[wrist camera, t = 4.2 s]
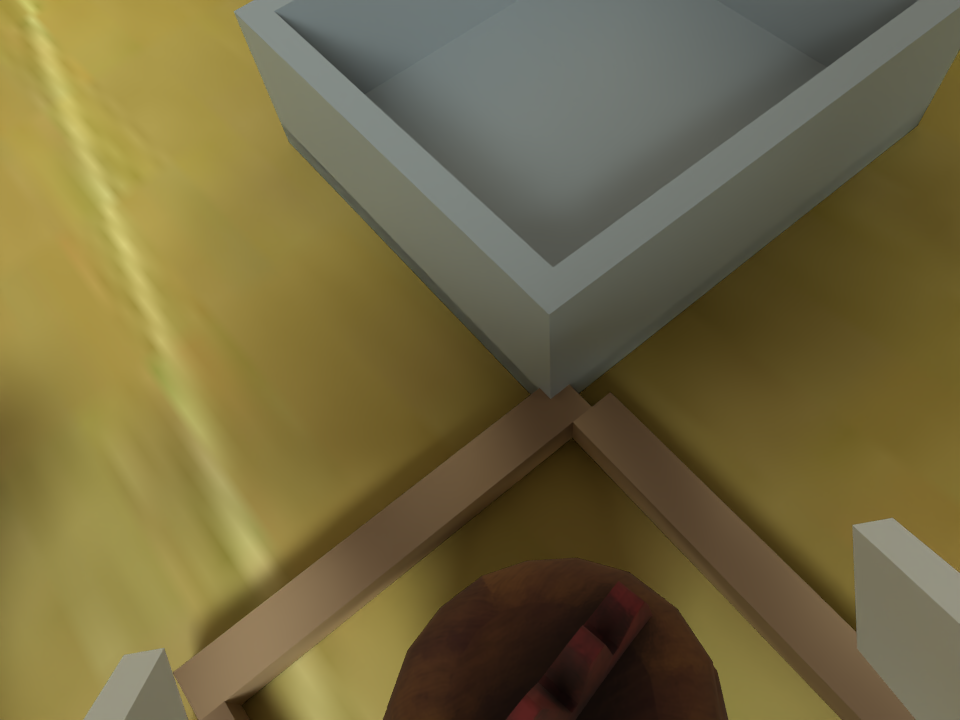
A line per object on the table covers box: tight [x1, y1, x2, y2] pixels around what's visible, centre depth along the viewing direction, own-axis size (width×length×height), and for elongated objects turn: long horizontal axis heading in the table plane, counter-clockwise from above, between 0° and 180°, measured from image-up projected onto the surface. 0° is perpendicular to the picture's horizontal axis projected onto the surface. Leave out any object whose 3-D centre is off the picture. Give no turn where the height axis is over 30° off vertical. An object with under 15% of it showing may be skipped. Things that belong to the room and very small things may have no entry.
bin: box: [234, 0, 960, 399], centre depth 27 cm, size 18×16×6 cm
